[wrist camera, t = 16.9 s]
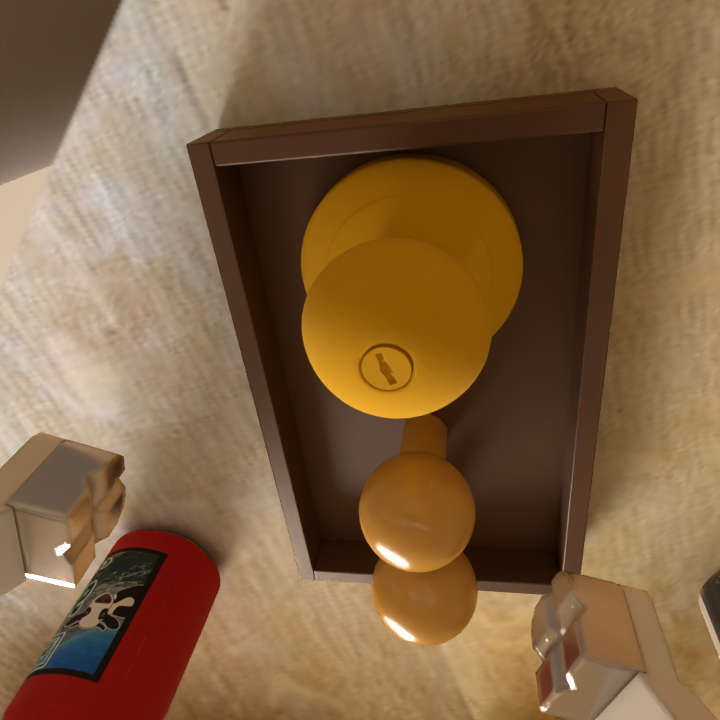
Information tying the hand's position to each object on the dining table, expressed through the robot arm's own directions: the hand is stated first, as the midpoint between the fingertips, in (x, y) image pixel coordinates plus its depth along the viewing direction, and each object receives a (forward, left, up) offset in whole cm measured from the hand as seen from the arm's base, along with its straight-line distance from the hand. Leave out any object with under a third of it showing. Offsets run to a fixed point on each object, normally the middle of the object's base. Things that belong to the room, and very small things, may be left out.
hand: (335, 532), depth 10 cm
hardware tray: (0, -6, -14) cm, 15 cm away
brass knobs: (0, -10, -13) cm, 17 cm away
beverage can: (-16, -19, -14) cm, 28 cm away
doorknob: (-1, +4, -9) cm, 10 cm away
